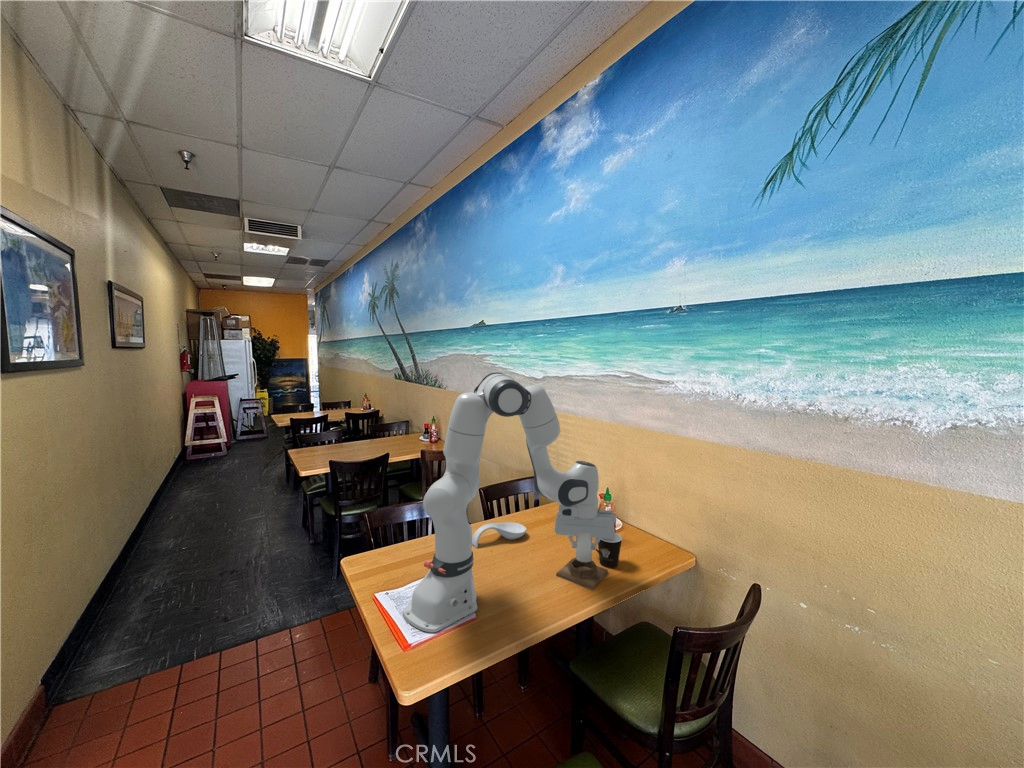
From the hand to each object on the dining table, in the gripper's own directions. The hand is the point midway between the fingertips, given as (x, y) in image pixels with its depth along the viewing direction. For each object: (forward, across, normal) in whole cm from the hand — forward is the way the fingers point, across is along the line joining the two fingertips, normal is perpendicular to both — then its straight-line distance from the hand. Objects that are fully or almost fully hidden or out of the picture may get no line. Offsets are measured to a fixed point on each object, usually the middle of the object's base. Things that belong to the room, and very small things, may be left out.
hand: (583, 548), depth 131 cm
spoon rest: (+10, +33, -20) cm, 40 cm away
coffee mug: (+10, -8, -10) cm, 16 cm away
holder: (+9, 0, 0) cm, 9 cm away
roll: (+4, 0, 0) cm, 4 cm away
